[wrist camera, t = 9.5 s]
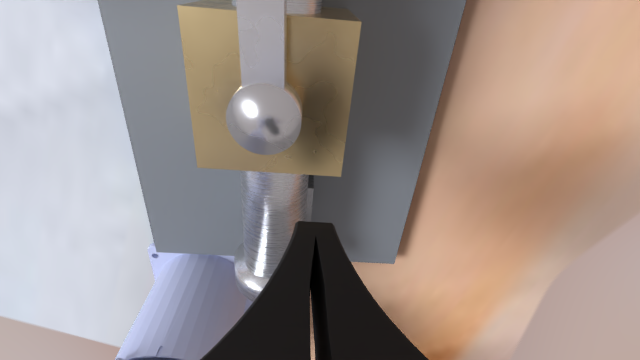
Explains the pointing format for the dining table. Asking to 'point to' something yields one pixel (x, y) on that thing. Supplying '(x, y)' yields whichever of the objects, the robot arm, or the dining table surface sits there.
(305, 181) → the valve body
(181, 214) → the mounting board
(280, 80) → the valve lever
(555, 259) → the dining table surface
